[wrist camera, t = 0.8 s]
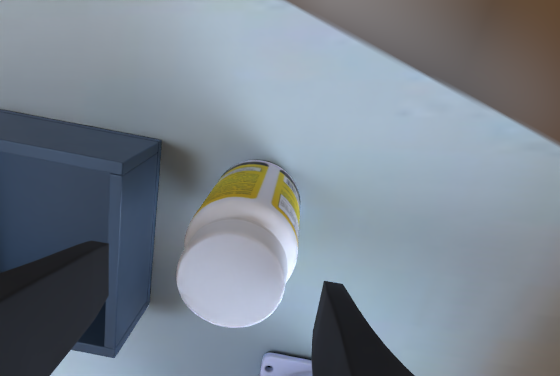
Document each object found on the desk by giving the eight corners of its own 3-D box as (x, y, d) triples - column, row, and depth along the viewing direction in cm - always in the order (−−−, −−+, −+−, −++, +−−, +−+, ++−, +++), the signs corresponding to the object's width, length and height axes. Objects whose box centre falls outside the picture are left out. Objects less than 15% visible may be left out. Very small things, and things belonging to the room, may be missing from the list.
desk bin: (149, 304, 25) (114, 358, 20) (-31, 268, 25) (-105, 315, 21) (162, 139, 21) (122, 162, 17) (-49, 99, 21) (-143, 111, 17)
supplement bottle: (202, 214, 23) (143, 302, 15) (237, 142, 21) (193, 197, 13) (277, 251, 23) (259, 356, 15) (316, 183, 21) (319, 260, 14)
